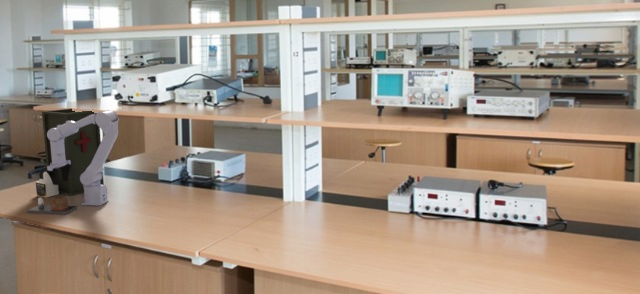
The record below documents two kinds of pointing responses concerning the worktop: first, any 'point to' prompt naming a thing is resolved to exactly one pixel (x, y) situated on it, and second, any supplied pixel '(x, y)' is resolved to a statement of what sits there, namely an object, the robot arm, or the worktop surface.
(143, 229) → the worktop surface
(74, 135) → the first aid box
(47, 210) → the pin board
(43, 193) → the medicine bottle
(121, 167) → the worktop surface
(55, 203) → the sleeve
